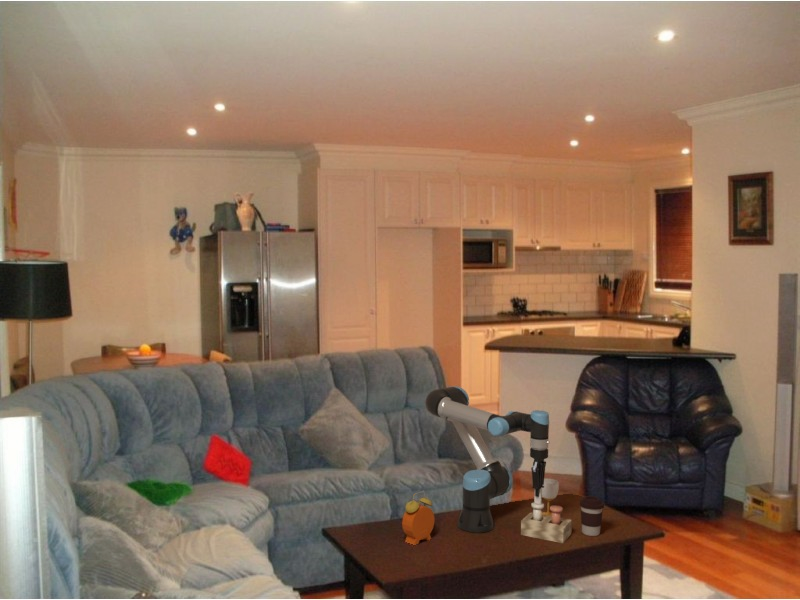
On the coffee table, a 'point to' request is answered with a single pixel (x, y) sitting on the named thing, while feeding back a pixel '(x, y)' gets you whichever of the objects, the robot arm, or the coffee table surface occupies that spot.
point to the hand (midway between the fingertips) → (537, 503)
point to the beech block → (546, 528)
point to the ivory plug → (537, 511)
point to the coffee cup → (591, 515)
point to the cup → (549, 492)
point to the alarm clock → (418, 521)
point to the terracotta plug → (556, 514)
